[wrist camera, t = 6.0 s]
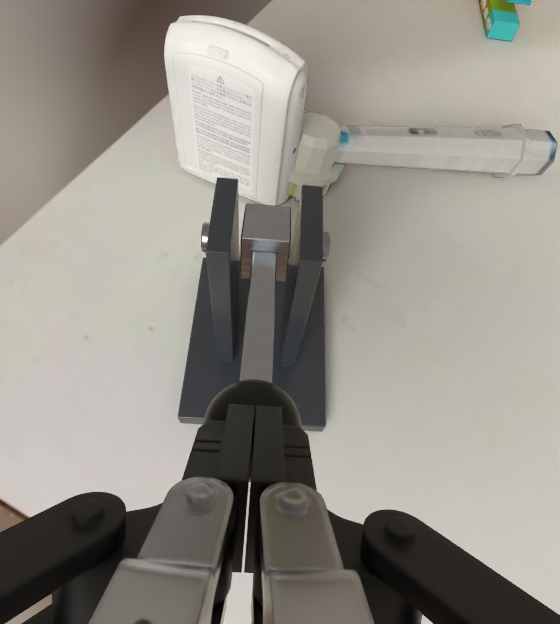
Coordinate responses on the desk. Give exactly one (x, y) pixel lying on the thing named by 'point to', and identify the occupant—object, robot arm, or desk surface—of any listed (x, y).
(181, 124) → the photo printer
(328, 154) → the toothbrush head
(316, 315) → the dark grey pivot stand
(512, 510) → the desk surface
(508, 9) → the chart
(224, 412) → the lever with ball knob
